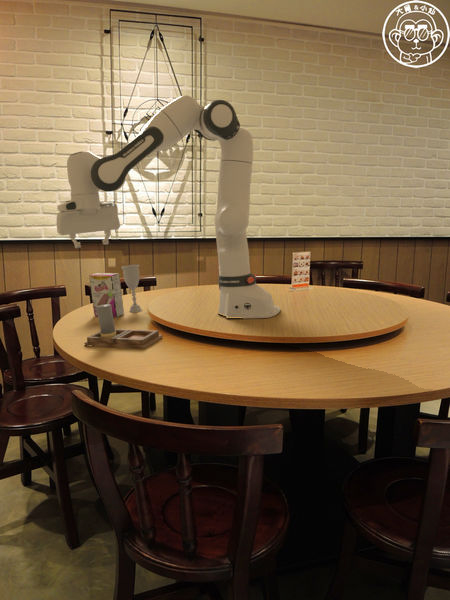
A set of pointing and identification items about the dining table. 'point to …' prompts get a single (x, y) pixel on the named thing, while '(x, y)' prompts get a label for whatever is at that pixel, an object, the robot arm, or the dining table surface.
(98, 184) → the robot arm
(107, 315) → the sleeve
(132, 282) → the chalice
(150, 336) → the wooden compartment tray
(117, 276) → the candy bar box
